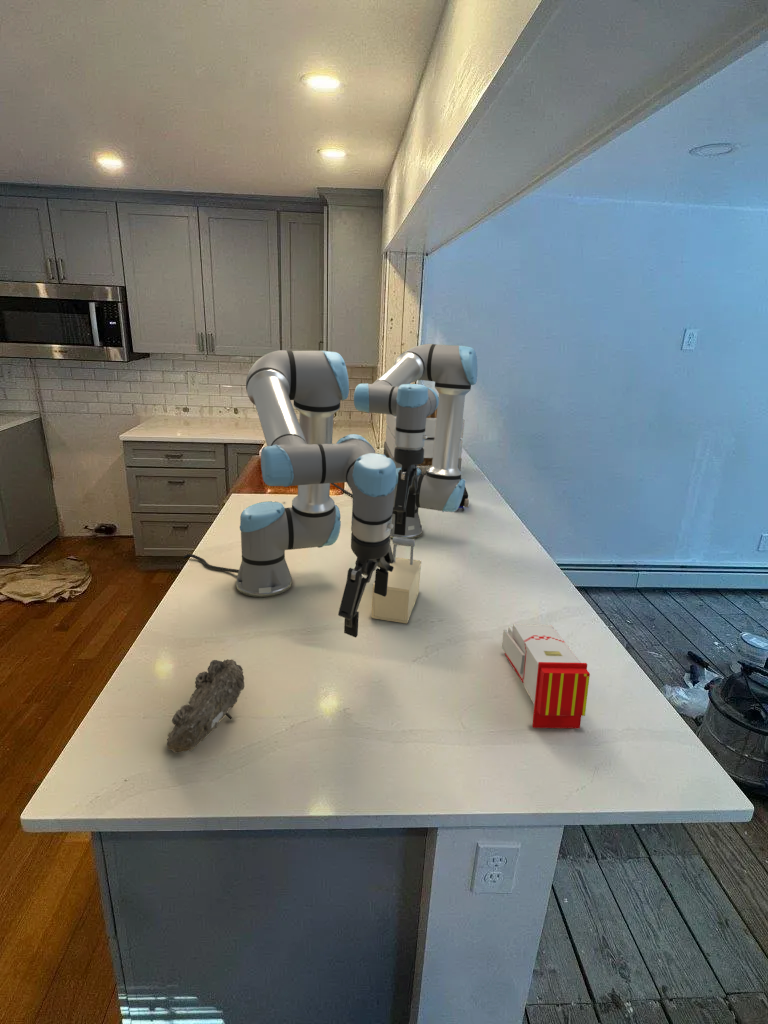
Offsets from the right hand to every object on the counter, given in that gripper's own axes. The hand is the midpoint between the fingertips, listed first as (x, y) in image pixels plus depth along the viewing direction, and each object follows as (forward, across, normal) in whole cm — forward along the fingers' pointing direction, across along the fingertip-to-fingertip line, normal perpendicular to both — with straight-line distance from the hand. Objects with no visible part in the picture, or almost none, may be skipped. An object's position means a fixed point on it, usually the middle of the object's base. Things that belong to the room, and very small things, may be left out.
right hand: (404, 525), depth 151 cm
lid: (+12, -6, 0) cm, 13 cm away
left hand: (+7, -36, +1) cm, 37 cm away
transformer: (+21, +124, +16) cm, 127 cm away
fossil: (+21, -59, +25) cm, 67 cm away
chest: (+21, -6, 0) cm, 22 cm away
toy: (+21, -31, -36) cm, 52 cm away
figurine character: (+21, +80, -8) cm, 83 cm away
